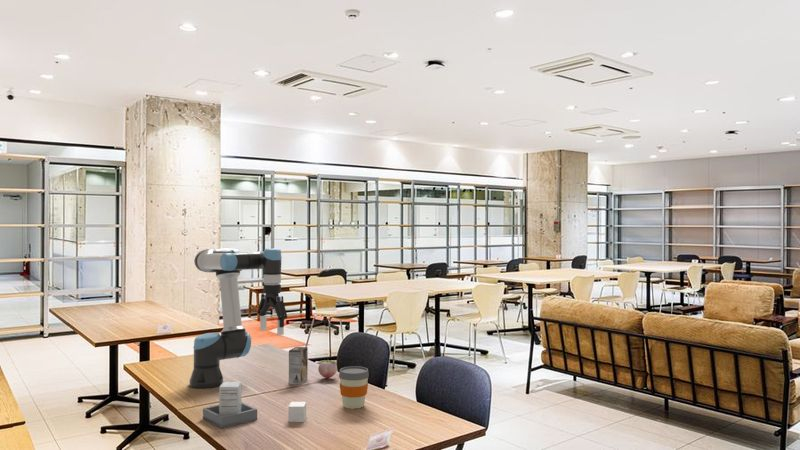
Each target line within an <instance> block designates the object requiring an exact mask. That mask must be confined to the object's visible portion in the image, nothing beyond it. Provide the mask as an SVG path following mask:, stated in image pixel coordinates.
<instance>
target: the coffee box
mask: <svg viewBox="0 0 800 450" xmlns="http://www.w3.org/2000/svg"><path fill="white" fill-rule="evenodd" d="M308 353H309V352H308V346H295V347H293V348H291V349H289V350H288V385H302V384H303V383H305V382H306V381H308V369H309V368H308V365H309V364H308V362H309V361H308V357H309V355H308Z"/></svg>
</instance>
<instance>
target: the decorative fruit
mask: <svg viewBox="0 0 800 450" xmlns="http://www.w3.org/2000/svg"><path fill="white" fill-rule="evenodd" d="M337 364H338V362H336V361H335V360H332V359H331V360H329V358H327V360H326V359H324V360H320V361H319V362H318V373H319V375H320V376H321V377H322V378H325V379H328V380H329V379H330V378H332V377H334V376H335V375H336V374H337V372H338V371H337V370H338V366H337Z"/></svg>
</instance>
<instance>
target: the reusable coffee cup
mask: <svg viewBox="0 0 800 450" xmlns="http://www.w3.org/2000/svg"><path fill="white" fill-rule="evenodd" d="M338 372H339V373H338V378H339V392H340V395H341V400H342V407H343V406H344V407H343V408H345V407H346V408H345V409H348V408H351V409H350V410H355V409H354V408H358V409H361V407H362V408H363V406H364V407H365V403H366V396H367V394H368V388H369V382H368V379H369V376H370V375H369V369H368V368H367V367H364V366H359V365H358V366H357V365H356V366H355V365H354V366H352V365H351V366H344V367H342V368H340V369H339V371H338Z"/></svg>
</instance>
